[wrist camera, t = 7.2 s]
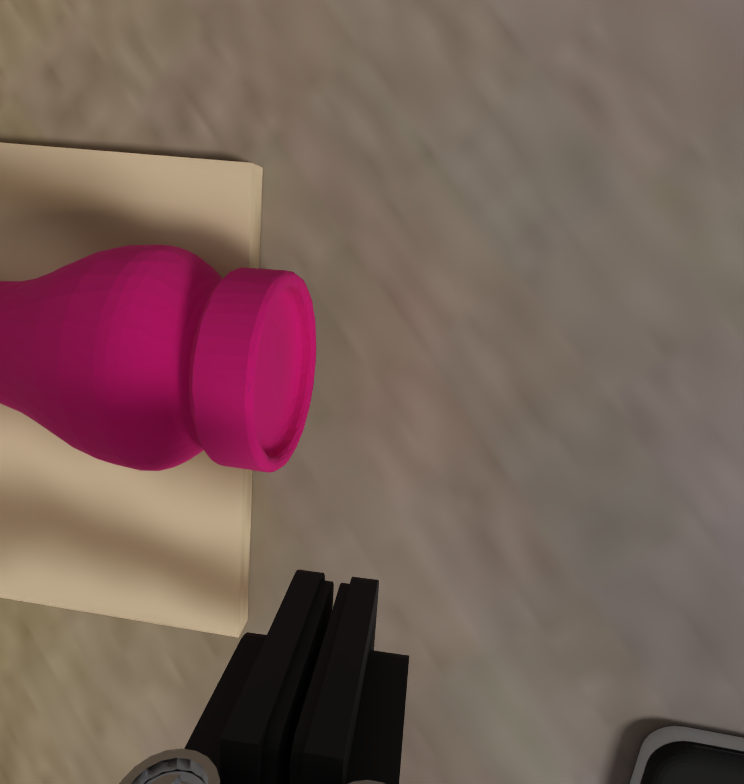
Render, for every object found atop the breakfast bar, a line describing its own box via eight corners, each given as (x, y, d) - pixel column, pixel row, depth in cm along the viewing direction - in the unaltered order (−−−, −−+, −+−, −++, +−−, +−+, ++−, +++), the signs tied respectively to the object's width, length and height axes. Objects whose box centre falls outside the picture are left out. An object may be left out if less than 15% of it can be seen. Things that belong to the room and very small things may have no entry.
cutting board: (247, 620, 26) (238, 637, 24) (-61, 569, 27) (-84, 583, 26) (262, 167, 20) (252, 163, 19) (-122, 136, 22) (-153, 130, 21)
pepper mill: (257, 540, 16) (-295, 451, 19) (323, 412, 22) (-99, 361, 25) (231, 302, 12) (-446, 239, 15) (318, 230, 18) (-174, 195, 21)
